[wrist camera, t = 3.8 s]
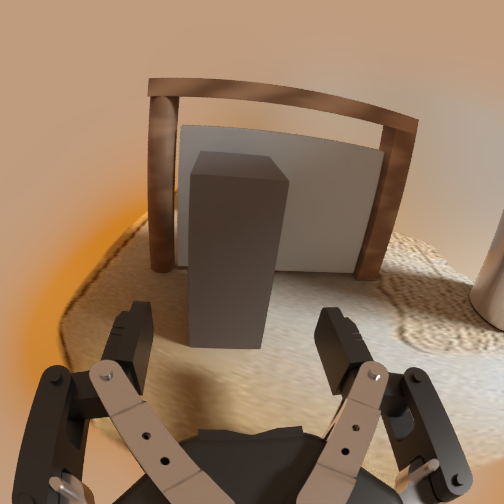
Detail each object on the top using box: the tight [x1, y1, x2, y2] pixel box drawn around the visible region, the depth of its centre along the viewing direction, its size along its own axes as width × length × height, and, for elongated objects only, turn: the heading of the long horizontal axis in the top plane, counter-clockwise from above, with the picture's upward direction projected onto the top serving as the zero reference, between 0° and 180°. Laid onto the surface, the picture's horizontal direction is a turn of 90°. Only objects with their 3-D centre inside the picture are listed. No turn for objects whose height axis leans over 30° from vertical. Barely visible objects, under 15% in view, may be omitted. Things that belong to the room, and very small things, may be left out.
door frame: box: [148, 78, 419, 280], centre depth 26 cm, size 24×2×18 cm, turn 95°
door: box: [177, 125, 384, 273], centre depth 27 cm, size 18×2×13 cm, turn 95°
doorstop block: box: [188, 151, 290, 349], centre depth 20 cm, size 5×7×12 cm
